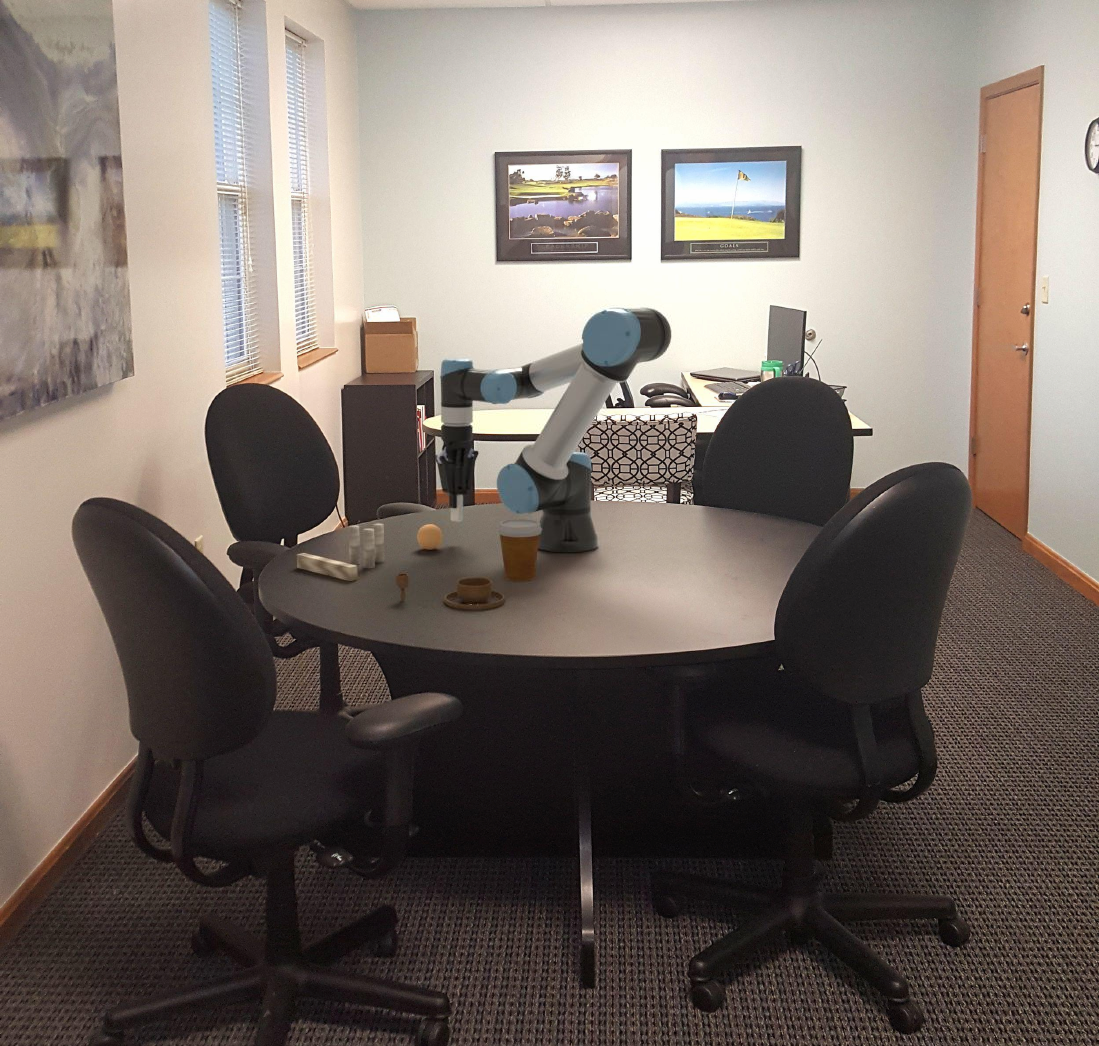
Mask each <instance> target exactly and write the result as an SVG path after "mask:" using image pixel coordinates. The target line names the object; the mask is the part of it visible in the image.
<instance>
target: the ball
mask: <svg viewBox="0 0 1099 1046" xmlns="http://www.w3.org/2000/svg"><path fill="white" fill-rule="evenodd" d="M443 538H444V537H443V532H442V530H441V528H440V527H438V526H437V525H435V524H431V523H430V524H429V523H428V524H425V525H423V526H421V527H420V528H419V529H418V531H417V536H416V539H417V540H416V541H417V542H418V544H419V546H420V547H422V548H423V549H424V550H429V551H430V550H435V549H437V548H438V547H439V546H440V545H441V543H442V542H443Z"/></svg>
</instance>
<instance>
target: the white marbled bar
mask: <svg viewBox="0 0 1099 1046" xmlns="http://www.w3.org/2000/svg"><path fill="white" fill-rule="evenodd" d="M296 565H297V566H296V568H298V569H302V570H306V571H309V572H312V573H317V574H321V575H325V576H328V575H329V577H332V578H336V579H340V580H344V581H347V582H348V581H349V582H352V581H356V580H358V565H352V564H349V563H347V562H344V561H340V560H334V559H331V558H326V557H322V556H318V555H314V554H310V553H306V552H303V553H298V554H296Z"/></svg>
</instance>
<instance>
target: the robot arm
mask: <svg viewBox="0 0 1099 1046" xmlns="http://www.w3.org/2000/svg"><path fill="white" fill-rule="evenodd" d="M584 325H585V326H584V327H583V330H582V333H581V340H582V343H579V344H577V345H575V346H571V347H568V348H567V349H563V350H561V351H558V352H556V353H553V354H551V355H550V354H549V355H548V356H546V357H543V358H539V359H538V360H535V361H533V362H530V363H527V364H524V365H521V366H518V367H507V368H497V369H479V368H475V367H474V366H473V365H474V364H473V360H472V359H470V358H464V357H463V358H456V357H455V358H454V357H453V358H452V357H451V358H445V359H443V360H442V361H441V365H440V377H439V378H440V400H441V401H440V422H441V423H442V424H441V426H440V439H441V440H442V442H443V444H442V447H441V452H440V453H439V454H434V457H433V458H434V460H435V463H436V464H437V469H438V470H437V471H438V474H439V479H440V485H441V490H442V493H445V494H446V495H448V500H449V501H448V505H449V506H448V507H449V508H450V521H452V522H458V523H460V522H461V523H462V522H464V518H463V517H464V507H465V495H468V494H469V491H471V489H472V484H473V480H474V479H473V478H474V472H475V467H476V466H475V465H476V461H477V458H478V456H479V453H480V452H479V450H475V449H473V448H472V444H471V441H472V440H473V438H474V437H473V435H474V434H473V425H472V423H473V422H474V420H473V419H474V418H473V416H474V415H473V411H474V410H473V408H474V406H473V405H474V404H473V403H474V402H480V403H488V404H492V405H497V404H500V405H507V404H508V403H510V402H511V401H513V400H522V399H533V398H536V397H540V396H542V395H543V394H544V393H545V392H547V391H551V390H552V389H555V388H559V387H561V386H565V385H567V384H568V386H567V388H566V389H565V391H564V393H563V395H562V396H561V398H560V400H559V401H558V403H557V405H556V406H555V408H554V410H553V411H552V413H551V415H550V416H549V418H548V419H547V421H546V423H545V424H544V426H543V428H542V429H541V431H540V433H539V434H538V435H539V436H537V438H536V439H535V441H534V443H533V444H527V445H526V446H524V447H523V449H522V451H521V452H520V454H519V455H518V457H517V458H516V461H515V462H514V463H508V464H506V465H505V466H503V467H502V468H501V469H500V471H499V473H498V475H497V479H496V490H497V491H498V497H499V500H500V502H501V503H502V504H503V506H504V507H505V508H506V509H507V510H508V511H510V512H512V513H513V514H515V515H516V514H517V515H529V514H534V513H536V512H540V511H541V517H540V519H539V521H538V522H539V523H540V526H541V528H542V531H541V534H540V537H539V545H538V550H542V551H546V552H553V553H581V552H582V553H583V552H587V551H592V550H594V549H597V547H599V546H598V543H599V541H598V539H599V538H598V537H599V536H598V535H597V533H596V530H595V526H594V521H593V517H592V514H591V513H592V512H591V511H592V509H591V506H592V505H591V504H592V503H591V501H592V472H593V468H592V459H591V456H590V455H589V454H588V453H586V452H580V451H576V449H577V448H578V446H579V445H580V442H581V441H582V440H583V437H584V436H585V435H586V433H587V432H588V430H589V428H590V427H591V425H592V424H593V421H594V420H596V419H595V418H596V417H597V415H598V414H599V412H600V410H601V409H602V407H603V406H604V405H605V402H606V401H607V399H608V397H609V396H610V394H611V393H612V391H613V389H614V388H615V386H616V385H617V384H620V383H625V382H626V381H628V378H629V377H630V375H631V374H632V373H633V371H634V369H635V368H636V366H637V365H638V364H640V363H645V362H646V363H647V362H652V361H655V360H657V359H659V358H660V357H661V356H663V355H664V354H665V353H666V352H667V351H668V349H669V348H670V344H671V342H672V341H671V340H672V328H671V325H670V323H669V321H668V319H667V318H666V316H665V315H663V313H662V312H660V311H658V310H656V309H655V308H652V307H651V308H650V307H630V308H629V307H628V308H627V307H626V308H624V307H610V308H608V309H603V310H600V311H598V312H596V313H595V314H593V315H592V316H590V318H589V319H588V320H587V322H586V324H584Z"/></svg>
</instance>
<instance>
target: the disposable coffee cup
mask: <svg viewBox="0 0 1099 1046" xmlns="http://www.w3.org/2000/svg"><path fill="white" fill-rule="evenodd" d="M539 522H540V521H537V520H533V519H524V518H522V519H521V518H519V519H518V518H515V519H513V518H511V519H505V520H501V521H500V522H499V523H498V524H499V525H498V528H497V531H498V534H499V539H500V546H501V554H502V561H503V569H504V577H505V579H506V580H507V581H508V580H509V581H513V582H526V581H531V580H534V579H535V577H536V576H535V575H536V567H537V560H538V559H537V558H538V552H539V549H538V545H539V537H540V534H541V531H542V528H541V526H540V523H539Z"/></svg>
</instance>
